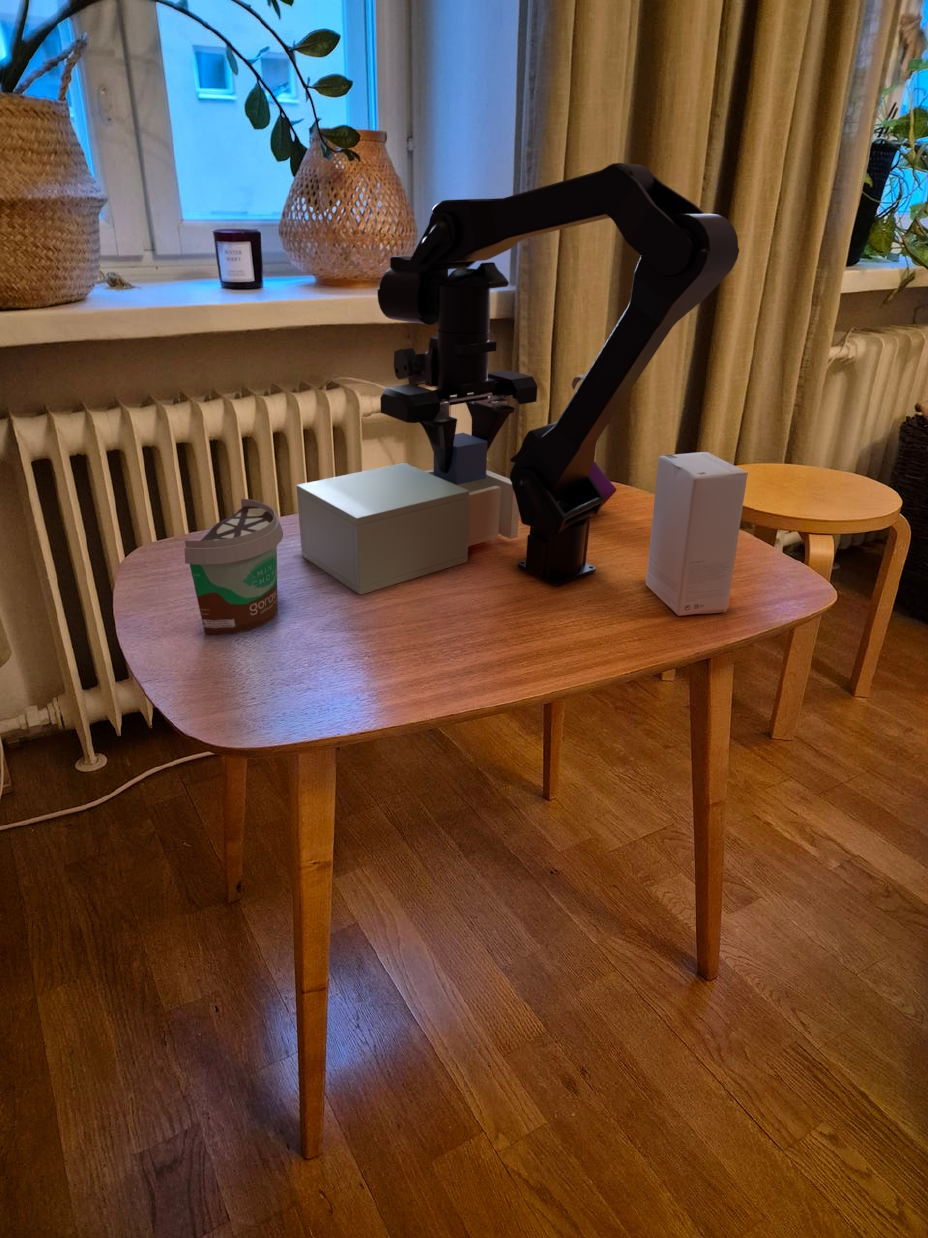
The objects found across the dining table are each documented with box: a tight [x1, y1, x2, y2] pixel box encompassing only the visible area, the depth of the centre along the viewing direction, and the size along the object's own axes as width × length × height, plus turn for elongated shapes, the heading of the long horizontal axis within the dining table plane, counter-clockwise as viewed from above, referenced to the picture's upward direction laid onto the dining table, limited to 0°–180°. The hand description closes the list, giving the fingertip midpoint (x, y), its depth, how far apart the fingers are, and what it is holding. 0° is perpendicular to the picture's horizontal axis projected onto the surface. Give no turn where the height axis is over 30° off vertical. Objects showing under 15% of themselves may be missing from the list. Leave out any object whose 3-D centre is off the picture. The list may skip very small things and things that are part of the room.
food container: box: [184, 497, 284, 636], centre depth 77 cm, size 12×6×10 cm, turn 168°
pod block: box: [433, 432, 488, 485], centre depth 94 cm, size 4×4×4 cm
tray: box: [424, 468, 520, 547], centre depth 96 cm, size 18×11×7 cm, turn 129°
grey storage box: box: [296, 462, 469, 596], centre depth 90 cm, size 15×13×9 cm
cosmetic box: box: [645, 451, 749, 617], centre depth 81 cm, size 8×6×15 cm
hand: (460, 468), depth 94 cm, fingers closed on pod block, 4 cm apart
